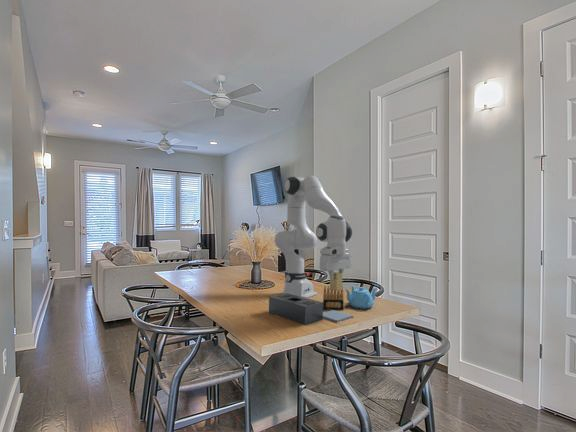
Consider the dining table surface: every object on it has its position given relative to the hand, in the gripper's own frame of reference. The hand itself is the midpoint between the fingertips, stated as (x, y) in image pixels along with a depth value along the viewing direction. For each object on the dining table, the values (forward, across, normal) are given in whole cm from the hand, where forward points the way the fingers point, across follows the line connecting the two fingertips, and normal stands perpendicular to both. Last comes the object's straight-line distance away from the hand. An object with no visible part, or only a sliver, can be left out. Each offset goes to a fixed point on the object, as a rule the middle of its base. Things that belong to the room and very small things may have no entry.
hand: (335, 279), depth 153 cm
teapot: (+18, -27, -4) cm, 33 cm away
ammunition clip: (+18, -10, -9) cm, 23 cm away
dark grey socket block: (+18, +14, -13) cm, 26 cm away
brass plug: (+5, 0, 0) cm, 5 cm away
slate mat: (+18, 0, 0) cm, 18 cm away
